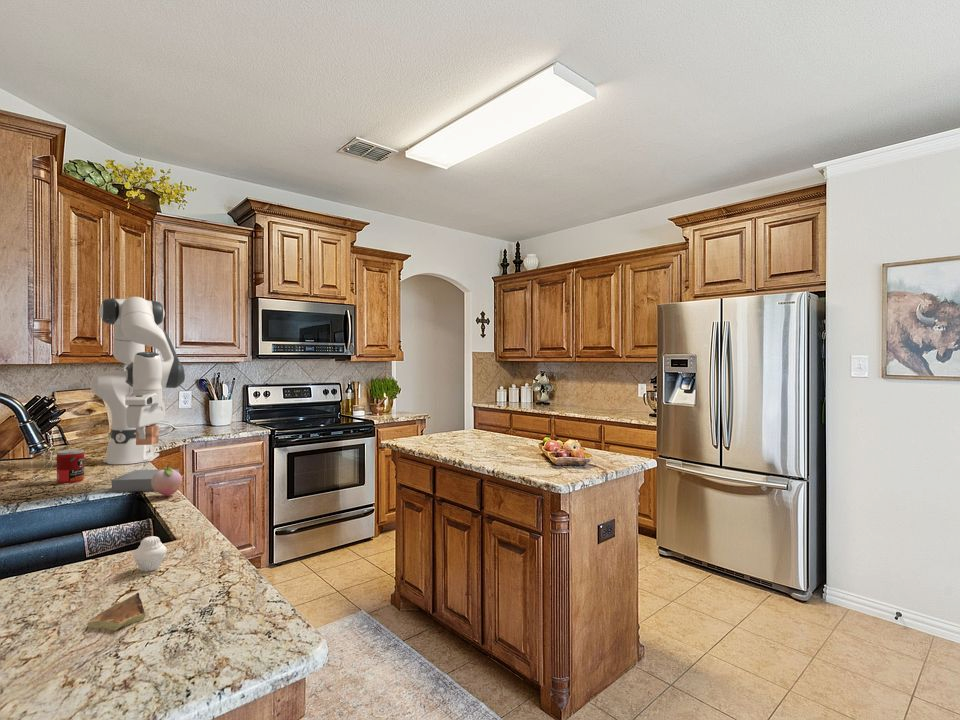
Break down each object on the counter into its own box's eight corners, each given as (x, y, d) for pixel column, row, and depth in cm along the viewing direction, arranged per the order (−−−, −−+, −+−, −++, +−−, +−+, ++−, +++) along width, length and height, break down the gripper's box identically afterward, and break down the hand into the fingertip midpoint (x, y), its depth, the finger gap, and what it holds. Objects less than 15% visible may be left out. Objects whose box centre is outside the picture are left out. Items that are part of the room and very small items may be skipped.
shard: (138, 600, 97) (138, 590, 97) (174, 603, 95) (174, 593, 95) (84, 630, 86) (84, 619, 86) (124, 634, 85) (124, 623, 85)
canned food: (72, 484, 181) (72, 453, 181) (50, 483, 181) (50, 452, 181) (89, 479, 189) (89, 449, 189) (68, 478, 189) (68, 448, 189)
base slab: (134, 481, 186) (134, 470, 186) (179, 480, 188) (179, 469, 188) (111, 491, 171) (111, 479, 171) (160, 490, 173) (160, 478, 173)
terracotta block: (143, 442, 182) (143, 425, 182) (158, 442, 182) (158, 425, 182) (135, 445, 177) (136, 427, 177) (151, 444, 177) (151, 427, 177)
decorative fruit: (148, 496, 166) (148, 465, 166) (176, 491, 172) (176, 462, 172) (155, 502, 160) (155, 470, 160) (184, 497, 165) (185, 466, 165)
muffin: (125, 573, 107) (125, 540, 107) (148, 562, 113) (148, 530, 113) (152, 575, 106) (152, 542, 106) (173, 564, 112) (174, 532, 112)
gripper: (152, 396, 189) (151, 433, 189) (122, 400, 169) (122, 442, 169) (170, 396, 190) (170, 433, 190) (143, 400, 170) (142, 442, 170)
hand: (147, 437), depth 180 cm, fingers closed on terracotta block, 5 cm apart
